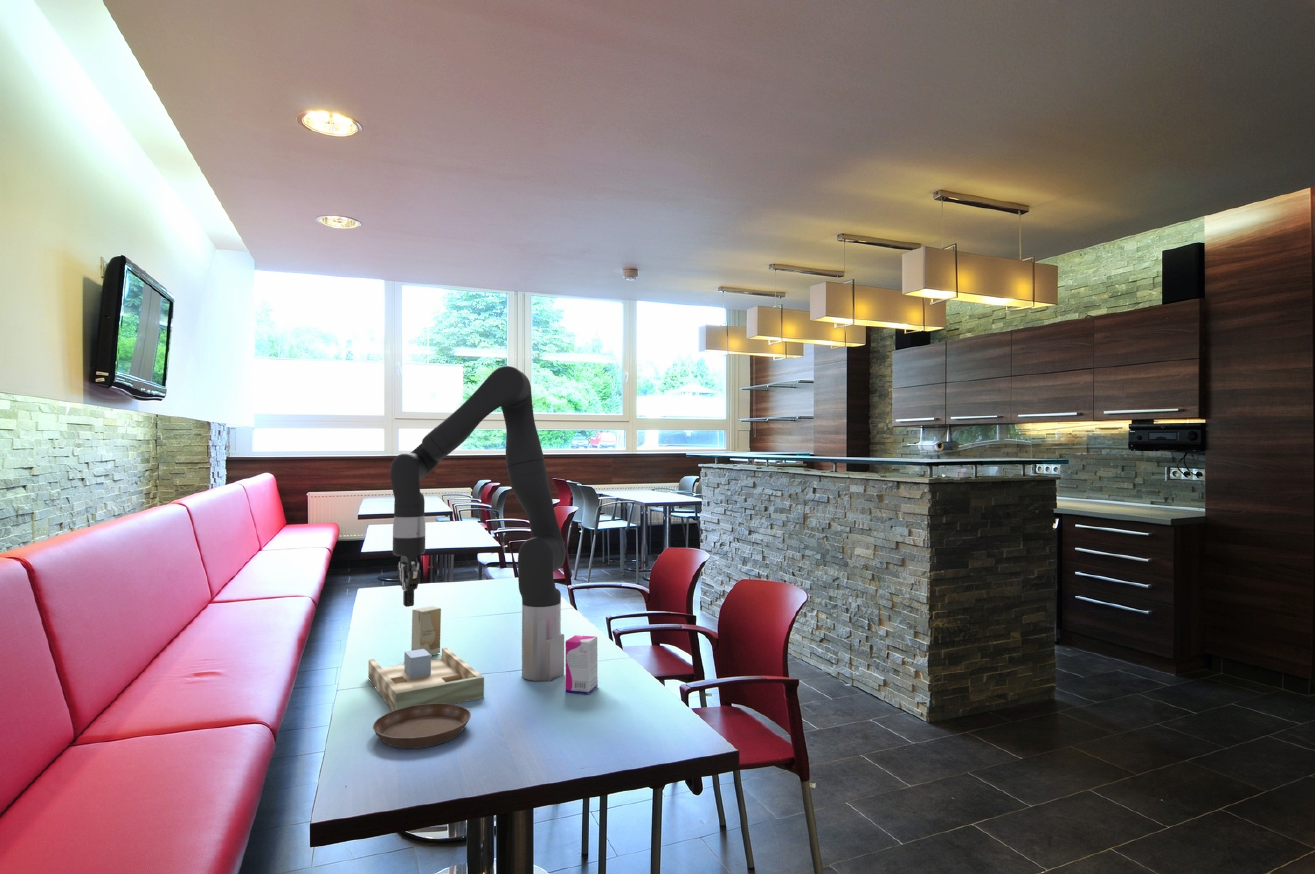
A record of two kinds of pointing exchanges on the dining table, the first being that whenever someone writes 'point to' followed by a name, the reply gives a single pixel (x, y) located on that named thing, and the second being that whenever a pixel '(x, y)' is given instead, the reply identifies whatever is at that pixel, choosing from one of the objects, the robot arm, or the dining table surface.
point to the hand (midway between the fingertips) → (408, 605)
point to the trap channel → (428, 683)
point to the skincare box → (426, 629)
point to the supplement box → (581, 664)
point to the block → (417, 663)
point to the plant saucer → (421, 725)
